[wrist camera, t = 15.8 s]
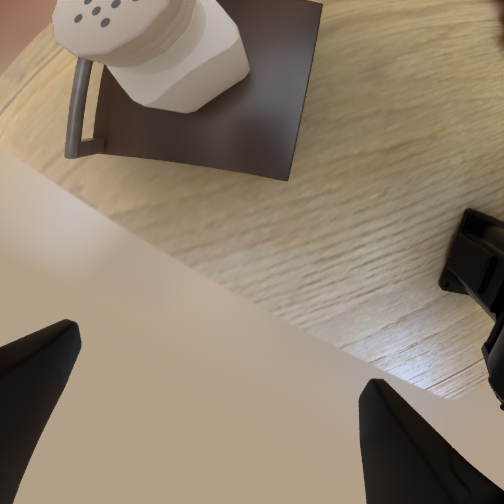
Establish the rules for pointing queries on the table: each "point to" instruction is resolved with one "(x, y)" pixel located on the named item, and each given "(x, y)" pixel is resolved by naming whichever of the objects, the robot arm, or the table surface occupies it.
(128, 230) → the table surface
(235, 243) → the table surface
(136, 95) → the pepper shaker
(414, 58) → the table surface
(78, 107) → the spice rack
